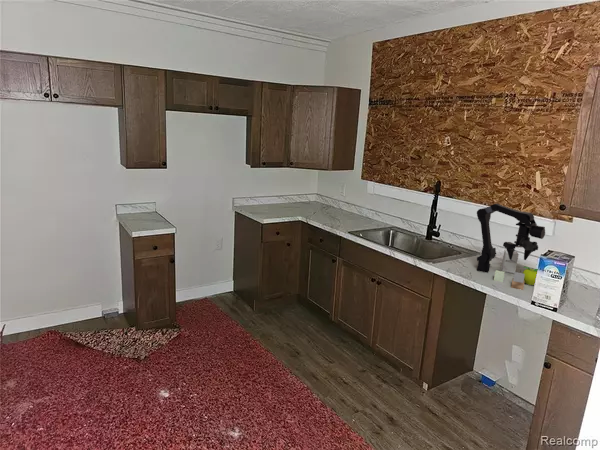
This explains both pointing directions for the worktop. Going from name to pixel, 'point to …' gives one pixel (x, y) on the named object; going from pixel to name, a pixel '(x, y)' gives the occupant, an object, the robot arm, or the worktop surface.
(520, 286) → the tower base
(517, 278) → the tower mid
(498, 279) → the sage cube
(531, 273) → the fruit
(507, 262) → the supplement box
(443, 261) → the worktop surface
